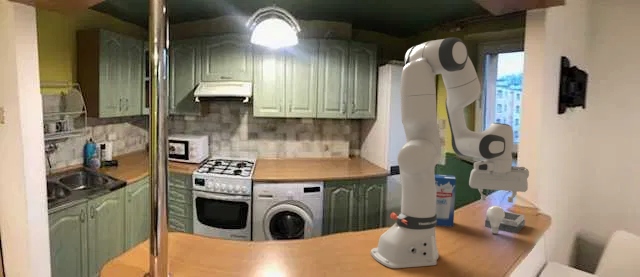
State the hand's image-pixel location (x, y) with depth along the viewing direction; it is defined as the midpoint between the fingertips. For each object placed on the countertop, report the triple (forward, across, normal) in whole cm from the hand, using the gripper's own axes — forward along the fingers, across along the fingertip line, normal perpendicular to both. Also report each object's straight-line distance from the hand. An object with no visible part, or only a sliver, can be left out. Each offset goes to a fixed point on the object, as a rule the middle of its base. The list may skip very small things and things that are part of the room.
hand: (496, 201), depth 144 cm
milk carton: (+13, +20, -6) cm, 25 cm away
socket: (+13, -5, -11) cm, 18 cm away
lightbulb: (+13, 0, 0) cm, 13 cm away
